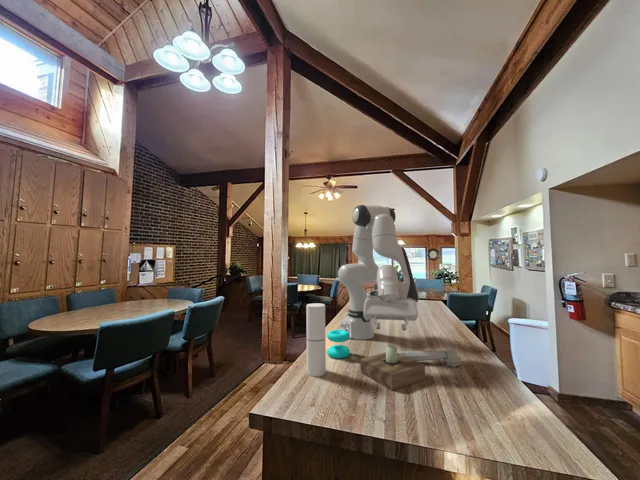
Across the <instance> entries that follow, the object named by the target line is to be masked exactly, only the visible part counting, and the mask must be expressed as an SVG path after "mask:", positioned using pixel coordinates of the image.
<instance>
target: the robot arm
mask: <svg viewBox="0 0 640 480" xmlns="http://www.w3.org/2000/svg"><path fill="white" fill-rule="evenodd" d="M351 218H352V222H353V223H354V225H355V227H354V233H353V238H352V239H353V240H352V248H351V250H352V253H353V255H355V257H357V259H358V261H357V262H356V263H346V264H344V265H340V267H339V269H338V271H337V277H338V280H339V281H340V283H342V284H343V285H344V286H345V288H346V290H347V291H348V296H349V297H348V298H349V309H347V310H346V312H348V314H347V316H345V318H344V319H342V320H341V321H340V326H339V327H340V329H339V328H337V329H338V330H344V331H347V332H348V333H349V335H350V337H349V338H355V339H354V340H370V339H373V338H374V337H375V331H374V325H375V329H376V330H380V329H381V322H378V320H381V321H382V320H384V321H389V320H390V321H404V323H402V324H401V329H402V330H401V331H407V326H408V325H409V322H410V321H411V322H412V321H413V322H416V320H418V318H419V317H418V316H419V314H418V310H417V303H418V302H419V297H420V294H419V290H418V288H417V285H416V282H415V279H414V276H413V273H412V268H411V264H410V261H409V257H408V254H407V252H406V250H405V248H404V247H403V246H401V245H400V244H399V242H398V238H397V230H396V225H395V221H396V218H397V217H396V211H394V209H393V208H392V207H388V206H381V205H375V204H374V205H364V204H360V205H356V206H355V208H353V211H352V217H351ZM374 252H375V253H377V254H378V255H380V256H381V257H384V258H387V259H390V260H393V261H395V262H396V263H398V264H399V266H400V269H401V273H402V277H403V282H401V283H400V282H399V279H398V274H397V271H396V268H395V266H393V265H391V264H385V265H384V264H383V265H380V266H379V265H377V264H376V262H375V258H374V254H373V253H374ZM374 282H375V284H374V285H373V286H374V287H373V288H374V290H371V291H366V290H365V289H364V287H363V284H370V283H371V284H372V283H374ZM373 324H374V325H373Z"/></svg>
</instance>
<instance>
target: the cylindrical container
mask: <svg viewBox="0 0 640 480" xmlns="http://www.w3.org/2000/svg"><path fill="white" fill-rule="evenodd" d="M305 308H306V311H305V312H306V313H305V314H306V316H305V317H306V319H305V321H306V329H305V330H306V332H305V333H306V374H307V375H308V376H310V377H321V376H324V375H326V371H327V369H326V368H327V367H326V366H327V365H326V363H327V362H326V359H327V356H326V353H327V351H326V350H327V349H326V305H325V303H321V302H320V303H318V302H317V303H316V302H314V303H307V304H306V306H305Z"/></svg>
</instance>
